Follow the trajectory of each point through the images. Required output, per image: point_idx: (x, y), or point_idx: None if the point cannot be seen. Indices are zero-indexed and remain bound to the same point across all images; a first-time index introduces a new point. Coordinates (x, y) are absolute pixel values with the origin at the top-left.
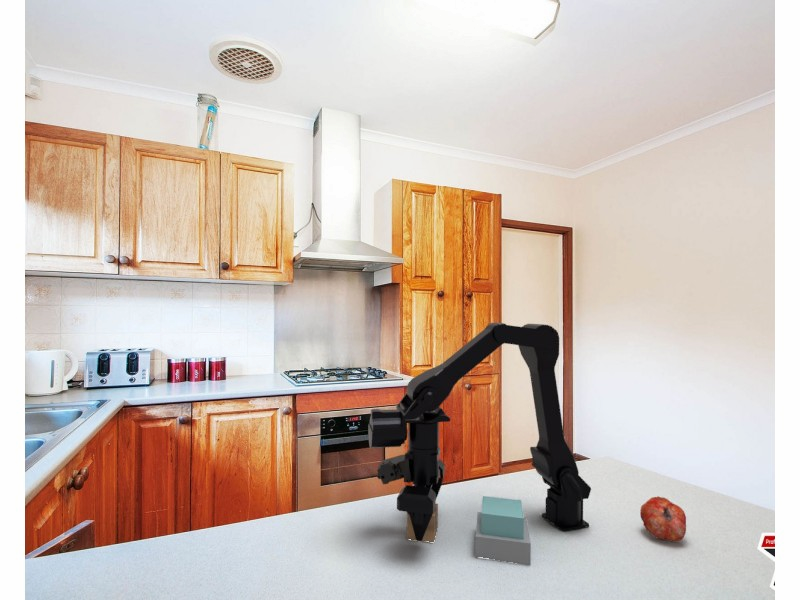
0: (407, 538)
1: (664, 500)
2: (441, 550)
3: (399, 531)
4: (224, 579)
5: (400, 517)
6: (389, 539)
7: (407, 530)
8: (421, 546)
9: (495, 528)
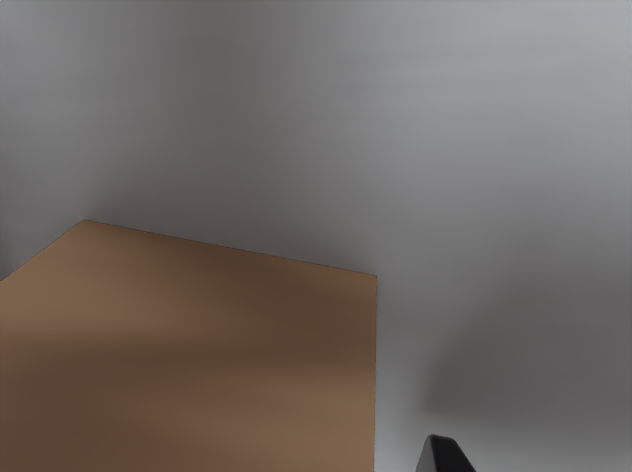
0: (73, 233)
1: None
2: None
3: (242, 135)
4: None
5: (624, 135)
6: (34, 15)
7: (14, 276)
8: None
9: None
